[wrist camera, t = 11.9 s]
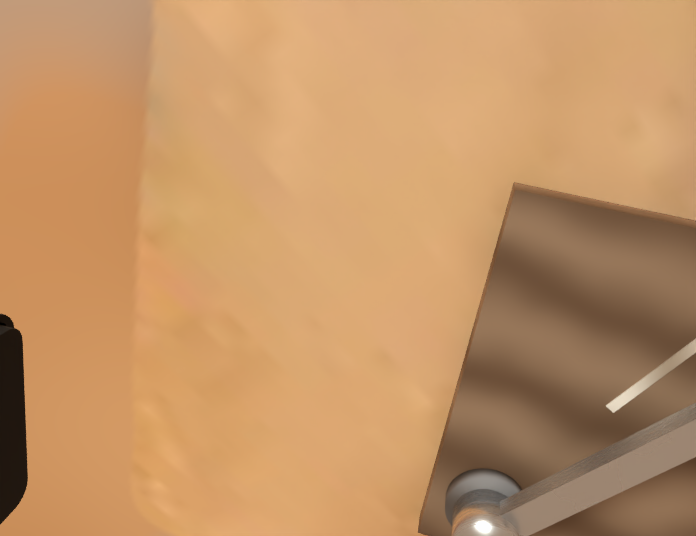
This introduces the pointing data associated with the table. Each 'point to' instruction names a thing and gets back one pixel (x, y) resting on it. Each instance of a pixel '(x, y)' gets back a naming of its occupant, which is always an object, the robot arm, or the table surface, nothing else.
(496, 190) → the table surface
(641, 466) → the lever
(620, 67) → the table surface
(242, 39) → the table surface
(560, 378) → the cracker board
